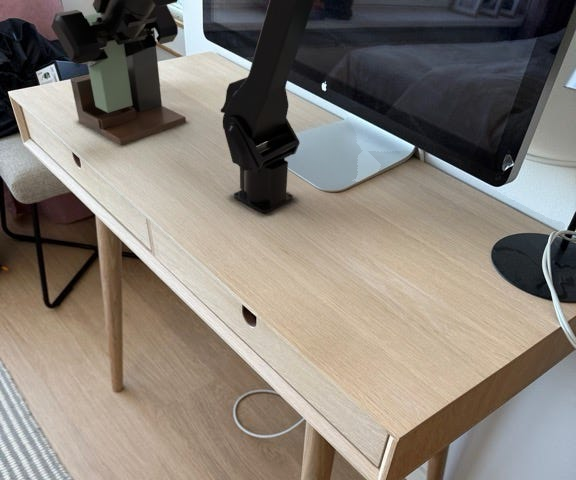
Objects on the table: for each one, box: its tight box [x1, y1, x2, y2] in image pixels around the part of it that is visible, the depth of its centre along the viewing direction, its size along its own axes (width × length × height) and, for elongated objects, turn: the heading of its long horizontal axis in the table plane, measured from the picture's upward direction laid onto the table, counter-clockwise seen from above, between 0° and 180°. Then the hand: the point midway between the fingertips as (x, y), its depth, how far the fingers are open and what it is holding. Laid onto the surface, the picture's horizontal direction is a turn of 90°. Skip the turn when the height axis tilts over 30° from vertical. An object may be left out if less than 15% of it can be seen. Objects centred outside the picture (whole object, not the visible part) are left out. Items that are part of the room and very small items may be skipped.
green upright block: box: [84, 12, 132, 113], centre depth 90 cm, size 4×5×13 cm
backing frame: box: [69, 29, 187, 146], centre depth 95 cm, size 12×14×14 cm
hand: (102, 60), depth 91 cm, fingers closed on green upright block, 5 cm apart
